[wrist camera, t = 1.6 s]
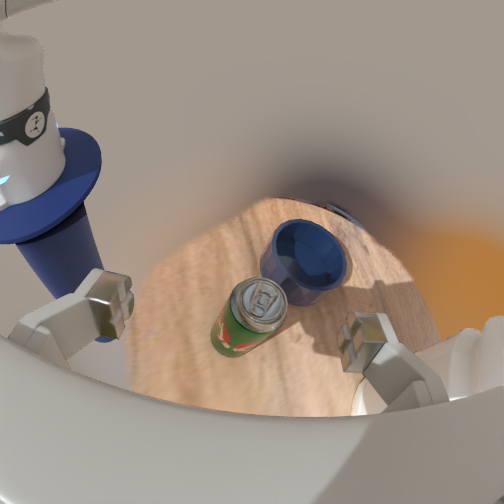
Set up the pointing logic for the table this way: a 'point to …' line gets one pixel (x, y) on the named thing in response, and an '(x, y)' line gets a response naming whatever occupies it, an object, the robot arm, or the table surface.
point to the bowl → (303, 261)
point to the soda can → (249, 316)
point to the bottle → (453, 366)
